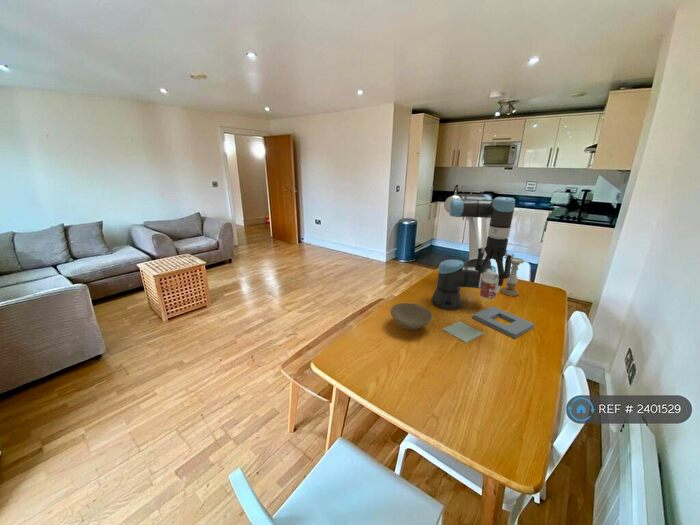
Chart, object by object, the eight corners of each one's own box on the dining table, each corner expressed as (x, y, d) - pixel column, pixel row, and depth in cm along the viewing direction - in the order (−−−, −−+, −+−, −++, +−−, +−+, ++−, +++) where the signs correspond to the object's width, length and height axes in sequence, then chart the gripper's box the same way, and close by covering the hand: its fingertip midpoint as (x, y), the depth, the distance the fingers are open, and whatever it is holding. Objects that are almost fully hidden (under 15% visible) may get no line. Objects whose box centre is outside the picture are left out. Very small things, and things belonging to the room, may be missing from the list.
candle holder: (502, 288, 165) (508, 256, 159) (519, 292, 160) (526, 259, 154) (499, 293, 159) (506, 260, 152) (517, 297, 154) (524, 263, 147)
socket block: (472, 318, 133) (472, 314, 132) (491, 309, 141) (492, 305, 140) (514, 338, 117) (515, 334, 116) (533, 327, 125) (534, 323, 124)
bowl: (438, 327, 126) (440, 311, 123) (417, 345, 113) (419, 327, 110) (403, 313, 138) (404, 298, 135) (381, 328, 125) (381, 312, 122)
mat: (442, 329, 124) (442, 328, 123) (459, 321, 130) (459, 321, 130) (465, 343, 114) (466, 342, 114) (483, 334, 120) (483, 333, 120)
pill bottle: (488, 301, 116) (492, 276, 113) (476, 295, 122) (480, 272, 118) (498, 298, 119) (503, 274, 115) (486, 292, 124) (490, 269, 121)
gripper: (470, 233, 117) (463, 284, 124) (518, 243, 102) (507, 299, 110) (480, 231, 121) (472, 280, 128) (527, 240, 106) (516, 294, 114)
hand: (488, 289), depth 119 cm, fingers closed on pill bottle, 6 cm apart
